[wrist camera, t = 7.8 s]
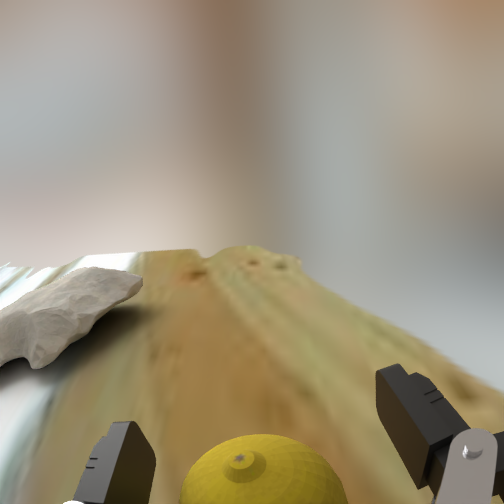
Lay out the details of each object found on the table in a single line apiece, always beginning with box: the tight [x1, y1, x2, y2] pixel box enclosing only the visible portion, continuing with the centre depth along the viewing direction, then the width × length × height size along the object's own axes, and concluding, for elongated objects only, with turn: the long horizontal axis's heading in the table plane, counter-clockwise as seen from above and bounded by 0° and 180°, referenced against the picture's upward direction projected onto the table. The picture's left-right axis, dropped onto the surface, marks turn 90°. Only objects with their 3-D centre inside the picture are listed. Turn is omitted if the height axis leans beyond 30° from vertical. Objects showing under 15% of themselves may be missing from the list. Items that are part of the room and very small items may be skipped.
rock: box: [0, 267, 143, 369], centre depth 33 cm, size 19×7×25 cm
